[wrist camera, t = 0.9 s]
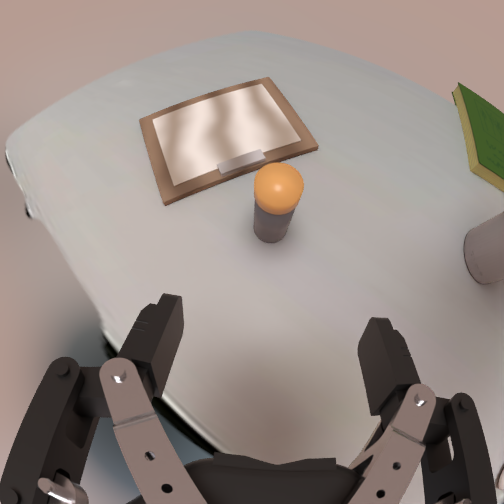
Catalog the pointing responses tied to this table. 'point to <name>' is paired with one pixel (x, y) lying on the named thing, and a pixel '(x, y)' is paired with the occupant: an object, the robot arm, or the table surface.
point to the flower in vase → (501, 481)
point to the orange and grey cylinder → (275, 200)
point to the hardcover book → (482, 135)
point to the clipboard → (222, 137)
